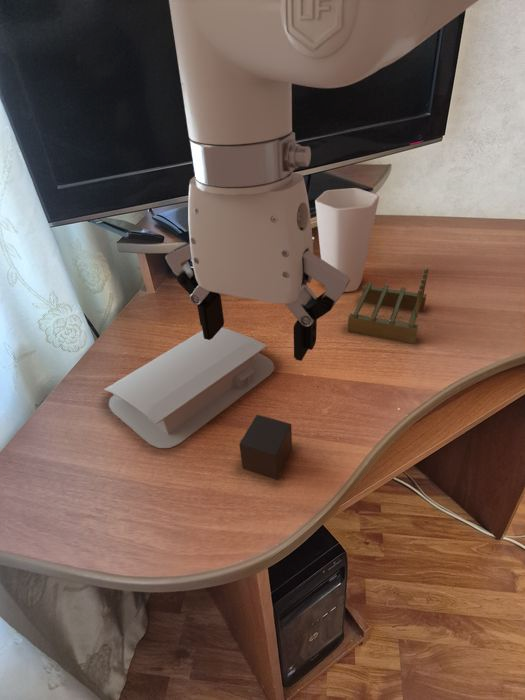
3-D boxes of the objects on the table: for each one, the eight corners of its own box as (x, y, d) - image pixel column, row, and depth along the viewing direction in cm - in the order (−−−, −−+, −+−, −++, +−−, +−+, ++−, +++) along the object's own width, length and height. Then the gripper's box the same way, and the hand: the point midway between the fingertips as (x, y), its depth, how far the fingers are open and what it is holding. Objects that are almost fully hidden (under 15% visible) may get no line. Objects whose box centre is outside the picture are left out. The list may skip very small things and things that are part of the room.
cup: (381, 286, 86) (391, 198, 75) (342, 303, 81) (347, 213, 71) (342, 266, 93) (346, 184, 83) (304, 281, 89) (304, 197, 79)
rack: (423, 308, 78) (432, 264, 73) (414, 344, 71) (423, 297, 65) (362, 298, 82) (366, 255, 77) (347, 331, 74) (350, 286, 69)
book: (282, 365, 68) (281, 345, 66) (163, 456, 56) (156, 435, 53) (216, 330, 77) (213, 311, 75) (100, 401, 64) (92, 382, 62)
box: (292, 448, 55) (291, 423, 52) (277, 480, 52) (275, 455, 49) (259, 438, 57) (256, 414, 54) (242, 468, 53) (238, 443, 51)
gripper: (368, 152, 33) (352, 337, 43) (173, 143, 39) (200, 307, 49) (341, 184, 27) (330, 386, 38) (119, 167, 33) (163, 345, 44)
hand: (257, 341), depth 43 cm, fingers open, 9 cm apart
